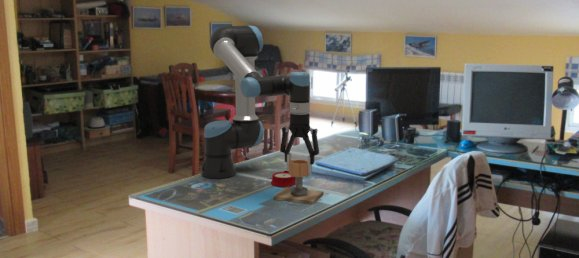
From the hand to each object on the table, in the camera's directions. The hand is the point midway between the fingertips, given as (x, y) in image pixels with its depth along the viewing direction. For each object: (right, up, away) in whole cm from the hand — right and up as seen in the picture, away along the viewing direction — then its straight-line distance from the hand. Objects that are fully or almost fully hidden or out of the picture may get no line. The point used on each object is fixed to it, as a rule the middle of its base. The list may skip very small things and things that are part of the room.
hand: (299, 171), depth 222 cm
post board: (0, -10, +2) cm, 10 cm away
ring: (0, -1, 0) cm, 1 cm away
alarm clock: (-5, -7, +21) cm, 23 cm away
